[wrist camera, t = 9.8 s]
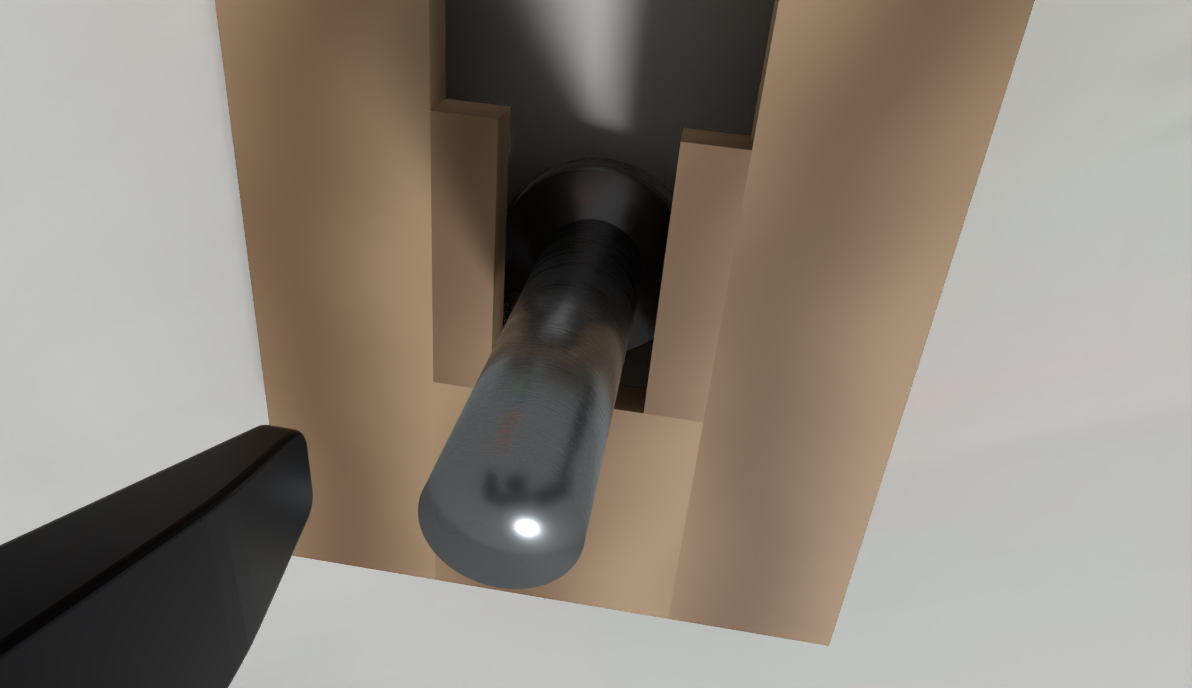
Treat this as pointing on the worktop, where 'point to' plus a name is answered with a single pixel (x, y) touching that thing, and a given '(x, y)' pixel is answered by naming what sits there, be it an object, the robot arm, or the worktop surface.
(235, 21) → the keyhole board
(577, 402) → the tee peg
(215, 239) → the worktop surface
